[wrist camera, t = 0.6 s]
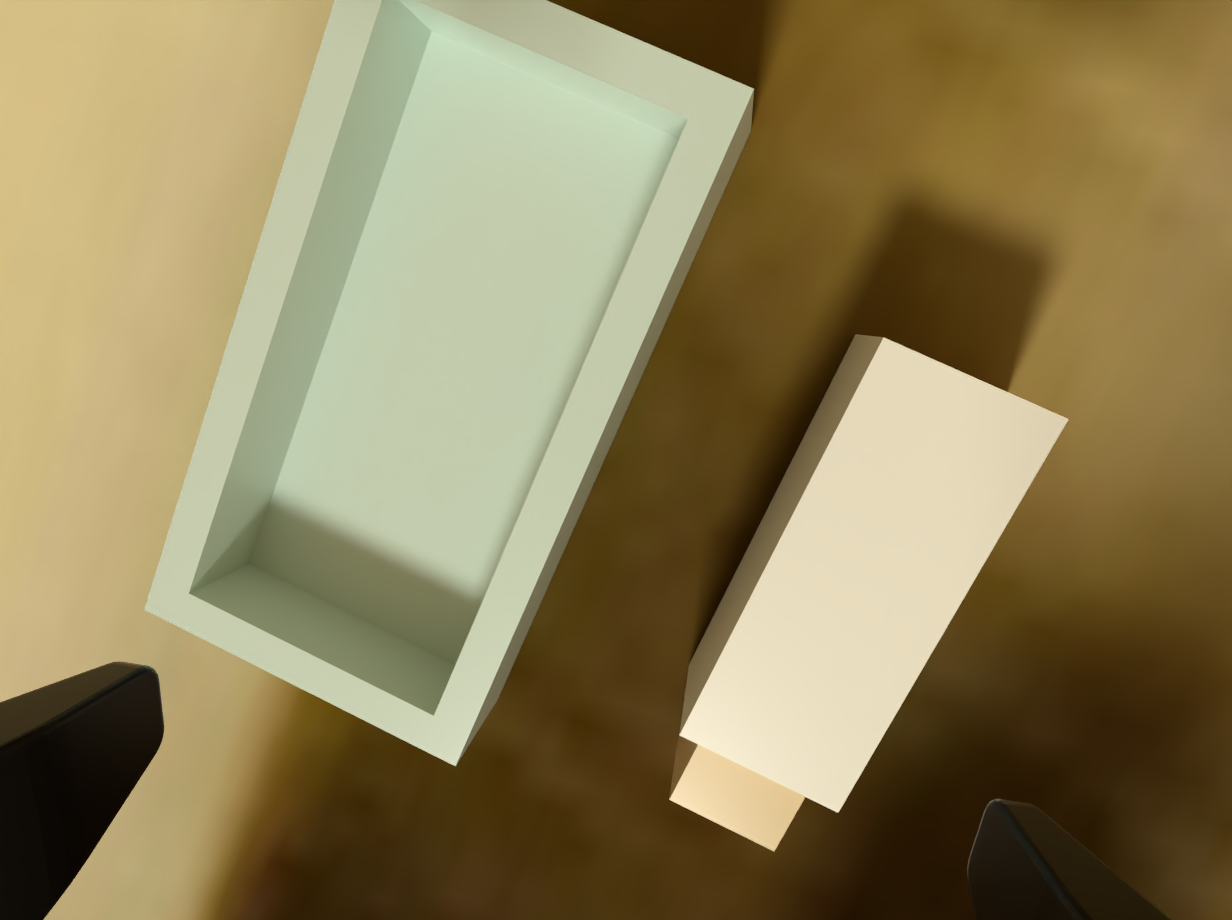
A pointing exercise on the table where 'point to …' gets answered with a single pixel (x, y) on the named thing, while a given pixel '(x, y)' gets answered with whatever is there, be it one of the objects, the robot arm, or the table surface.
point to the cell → (850, 583)
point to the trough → (440, 347)
